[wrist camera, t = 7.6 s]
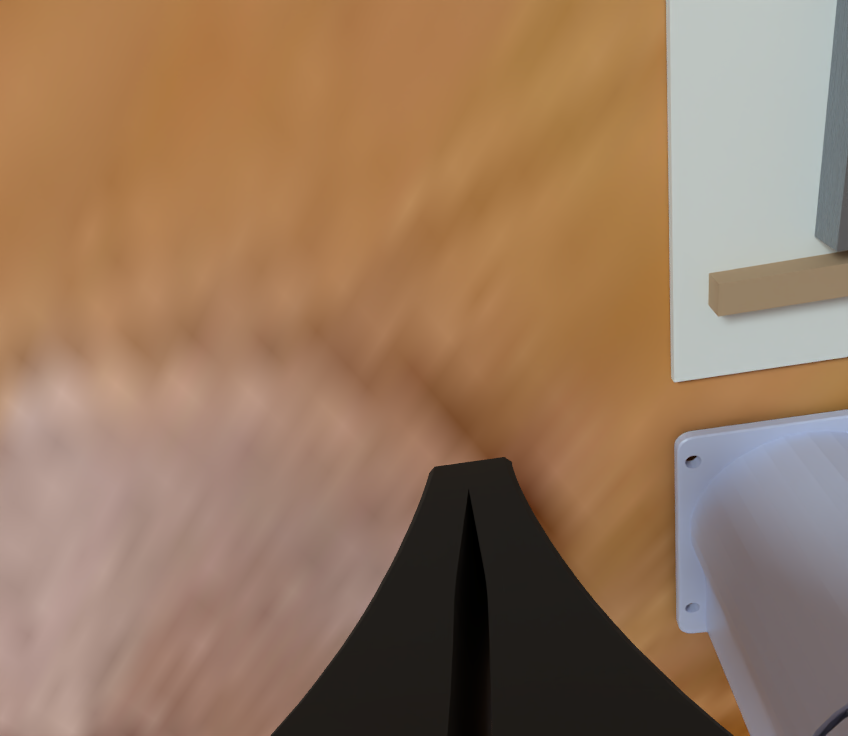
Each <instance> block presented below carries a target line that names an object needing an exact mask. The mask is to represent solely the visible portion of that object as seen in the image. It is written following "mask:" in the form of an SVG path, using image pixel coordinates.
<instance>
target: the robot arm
mask: <svg viewBox="0 0 848 736" xmlns="http://www.w3.org/2000/svg"><path fill="white" fill-rule="evenodd" d="M674 456H675V541H676V620H677V623H678V626H679V628H680V630H681V631H683V632H686V633H700V632H708V634H709V636H710V639H711V641H712V643H713V646H714V648H715V651H716V653H717V656H718V658H719V660H720V663H721V665H722V668H723V670H724V673H725V675H726V677H727V680H728V682H729V685H730V687H731V689H732V692H733V694H734V697H735V699H736V702H737V704H738V706H739V709H740V711H741V714H742V716H743V719H744V721H745V723H746V726H747V728H748V731H749V733H750V736H848V409H847V410H839V411H832V412H825V413H818V414H810V415H803V416H796V417H789V418H782V419H774V420H767V421H760V422H753V423H746V424H738V425H731V426H724V427H717V428H710V429H702V430H695V431H689V432H686V433H683V434H682V435H680V436H679V437H678V438H677V440H676V441H675V445H674ZM690 456H697V457H696V458H695V459H694V460H691V461H686V459H687V458H688V457H690ZM690 603H692V604H690ZM271 736H733V735H732V734H731V733H730V732H728V731H727V730H726V729H725V728H724V727H722V726H721V725H720V724H719V723H718V722H716V721H715V720H714V719H713V718H712V717H711V716H710V715H708V714H707V713H706V712H705V711H704V710H703V709H702V708H700V707H699V706H698V705H697V704H696V703H695V702H694V701H692V700H691V699H690V698H689V697H688V696H687V695H685V694H684V693H683V692H682V691H681V690H680V689H679V688H678V687H677V686H676V685H675V684H674V683H673V682H672V681H671V680H670V679H669V678H668V677H667V676H666V675H665V674H664V673H663V672H662V671H660V670H659V669H658V668H657V667H656V666H655V665H654V664H653V663H652V662H651V661H650V660H649V659H648V658H647V657H646V656H645V655H644V654H643V653H642V652H641V651H640V650H639V649H638V648H637V647H636V646H635V645H634V644H633V643H632V642H631V641H630V640H629V639H628V638H627V637H626V635H625V634H624V633H623V632H622V631H621V630H620V629H619V628H618V627H617V626H616V625H615V624H614V622H613V621H612V620H611V619H610V618H609V617H608V616H607V614H606V613H605V612H604V611H603V610H602V609H601V607H600V606H599V605H598V604H597V603H596V602H595V600H594V599H593V598H592V597H591V596H590V594H589V593H588V592H587V591H586V589H585V588H584V587H583V585H582V584H581V583H580V582H579V580H578V579H577V578H576V576H575V575H574V574H573V572H572V571H571V570H570V568H569V567H568V565H567V564H566V563H565V561H564V560H563V559H562V557H561V556H560V554H559V553H558V551H557V550H556V548H555V547H554V546H553V544H552V543H551V541H550V539H549V538H548V536H547V535H546V533H545V531H544V530H543V528H542V527H541V525H540V523H539V522H538V520H537V519H536V517H535V515H534V513H533V512H532V510H531V508H530V506H529V504H528V502H527V500H526V498H525V496H524V494H523V493H522V490H521V488H520V486H519V484H518V481H517V479H516V476H515V473H514V470H513V467H512V462H511V461H509V460H508V459H506V458H505V457H502V458H495V459H487V460H480V461H473V462H466V463H458V464H451V465H444V466H437V467H434V468H433V469H432V471H431V472H430V473H429V476H428V480H427V483H426V486H425V489H424V492H423V494H422V497H421V500H420V502H419V505H418V508H417V510H416V512H415V515H414V517H413V520H412V522H411V524H410V526H409V529H408V531H407V533H406V535H405V537H404V539H403V541H402V544H401V546H400V548H399V550H398V552H397V554H396V556H395V558H394V560H393V562H392V564H391V566H390V568H389V570H388V571H387V573H386V575H385V577H384V579H383V581H382V582H381V584H380V586H379V588H378V590H377V592H376V593H375V595H374V597H373V599H372V600H371V602H370V604H369V605H368V607H367V609H366V610H365V612H364V614H363V615H362V617H361V618H360V620H359V622H358V623H357V625H356V626H355V628H354V629H353V631H352V632H351V634H350V635H349V637H348V638H347V640H346V641H345V643H344V644H343V646H342V647H341V649H340V650H339V651H338V653H337V654H336V655H335V657H334V658H333V660H332V661H331V662H330V664H329V665H328V666H327V668H326V669H325V670H324V672H323V673H322V674H321V676H320V677H319V678H318V680H317V681H316V682H315V684H314V685H313V686H312V688H311V689H310V690H309V691H308V693H307V694H306V695H305V696H304V698H303V699H302V700H301V701H300V702H299V704H298V705H297V706H296V707H295V708H294V709H293V711H292V712H291V713H290V714H289V715H288V716H287V717H286V719H285V720H284V721H283V722H282V723H281V724H280V725H279V727H278V728H277V729H276V730H275V731H274V732H273V733H272V734H271Z"/></svg>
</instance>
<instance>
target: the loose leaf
mask: <svg viewBox="0 0 848 736" xmlns="http://www.w3.org/2000/svg"><path fill="white" fill-rule="evenodd" d="M815 237H816V238H818V239H819V240H821V241H822V242H824V243H825V244H827V245H828V246H830V247H831V248H833V249H834V250H836V251H842V250H848V0H837V6H836V16H835V27H834V37H833V47H832V58H831V68H830V79H829V89H828V100H827V110H826V121H825V131H824V142H823V152H822V163H821V173H820V184H819V194H818V205H817V215H816V226H815Z"/></svg>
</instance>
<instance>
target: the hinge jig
mask: <svg viewBox="0 0 848 736" xmlns="http://www.w3.org/2000/svg"><path fill="white" fill-rule="evenodd" d="M836 6H837V0H666V32H667V105H668V177H669V250H670V323H671V378H672V380H673V381H674V382H680V381H687V380H694V379H701V378H708V377H714V376H721V375H728V374H735V373H742V372H748V371H755V370H762V369H769V368H776V367H782V366H789V365H796V364H803V363H810V362H816V361H823V360H830V359H837V358H844V357H848V250H842V251H836V250H834V249H833V248H831V247H830V246H828V245H827V244H825V243H824V242H822V241H821V240H819V239H818V238H816V237H815V226H816V215H817V205H818V194H819V184H820V173H821V163H822V152H823V142H824V131H825V121H826V110H827V100H828V89H829V79H830V68H831V58H832V47H833V37H834V27H835V16H836Z"/></svg>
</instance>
